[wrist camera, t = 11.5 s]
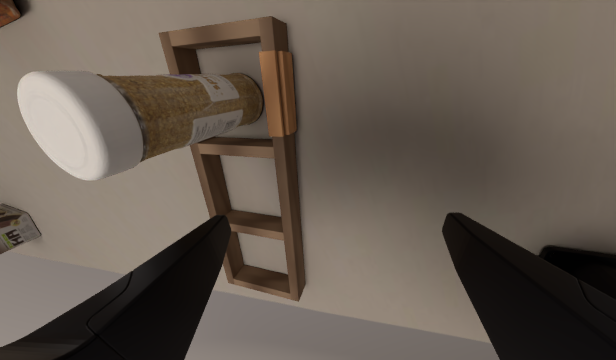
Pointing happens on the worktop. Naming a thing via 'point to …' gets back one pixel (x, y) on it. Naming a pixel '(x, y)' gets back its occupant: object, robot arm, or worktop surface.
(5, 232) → the coffee box
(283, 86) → the rack
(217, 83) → the sprinkles bottle
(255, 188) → the worktop surface
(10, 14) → the tin
